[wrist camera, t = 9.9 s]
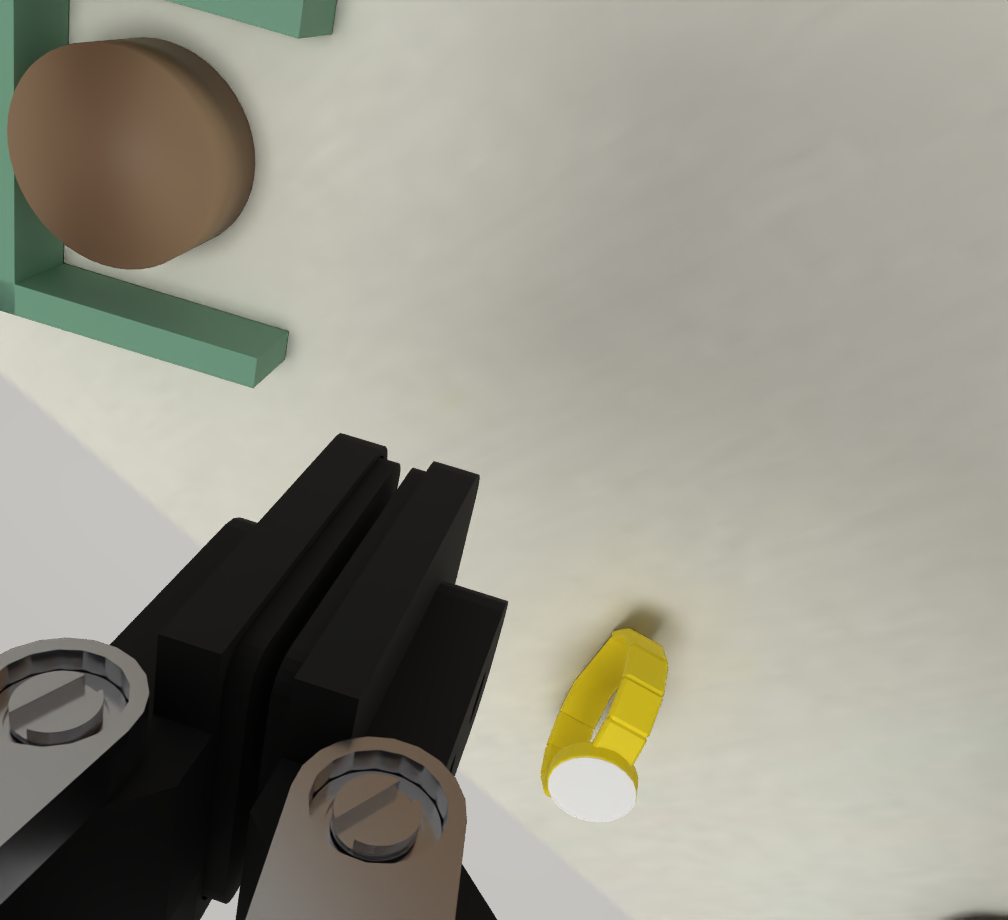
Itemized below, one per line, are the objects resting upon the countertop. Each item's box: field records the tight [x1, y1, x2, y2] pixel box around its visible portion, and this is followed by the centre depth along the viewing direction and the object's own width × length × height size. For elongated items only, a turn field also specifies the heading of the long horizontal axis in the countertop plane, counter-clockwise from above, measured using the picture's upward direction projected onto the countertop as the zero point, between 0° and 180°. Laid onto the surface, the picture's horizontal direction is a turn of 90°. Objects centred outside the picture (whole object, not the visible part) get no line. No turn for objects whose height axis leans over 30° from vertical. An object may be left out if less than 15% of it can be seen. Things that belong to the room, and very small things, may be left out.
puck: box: [7, 38, 255, 269], centre depth 27 cm, size 6×6×3 cm
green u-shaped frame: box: [0, 0, 337, 388], centre depth 27 cm, size 9×11×2 cm
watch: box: [541, 628, 668, 822], centre depth 31 cm, size 6×3×6 cm, turn 152°
